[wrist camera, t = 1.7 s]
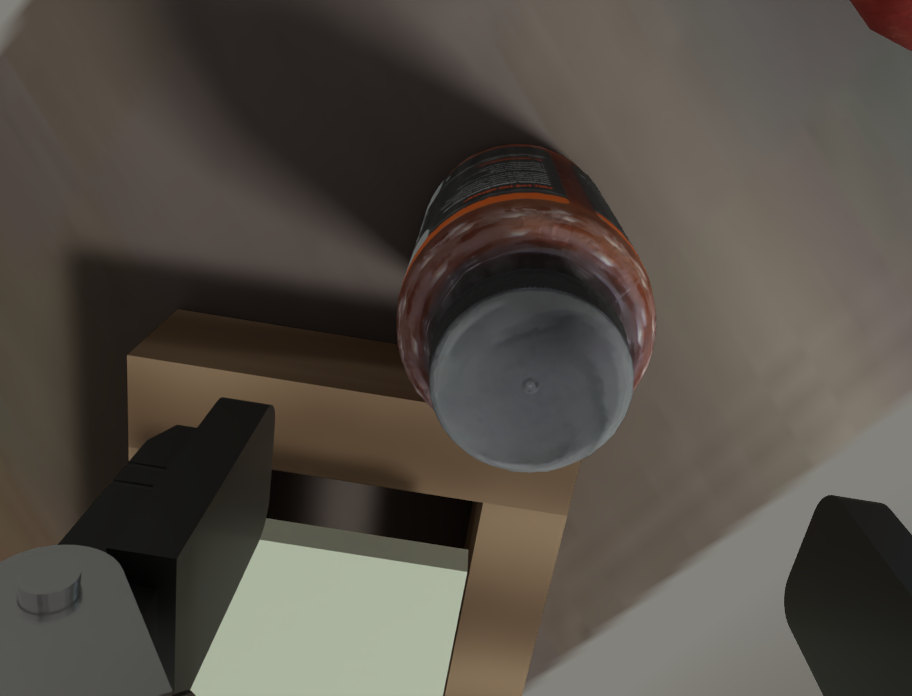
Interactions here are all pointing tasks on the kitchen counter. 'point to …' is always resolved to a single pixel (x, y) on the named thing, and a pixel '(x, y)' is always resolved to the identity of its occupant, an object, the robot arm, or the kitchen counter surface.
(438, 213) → the supplement bottle
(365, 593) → the plate
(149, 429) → the wooden tray
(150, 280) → the kitchen counter surface
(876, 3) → the pomegranate
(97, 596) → the robot arm
